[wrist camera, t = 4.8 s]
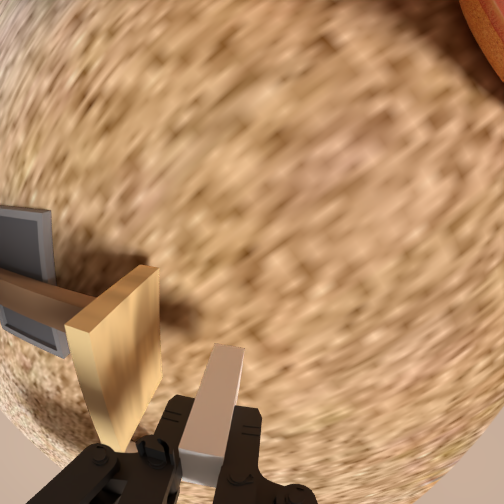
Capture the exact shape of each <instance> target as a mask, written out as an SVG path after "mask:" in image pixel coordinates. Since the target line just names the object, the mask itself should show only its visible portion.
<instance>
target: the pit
mask: <svg viewBox="0 0 504 504" xmlns="http://www.w3.org/2000/svg"><path fill="white" fill-rule="evenodd" d="M0 268H2V269H5V270H8V271H11V272H14V273H17V274H20V275H23V276H26V277H29V278H32V279H35V280H38V281H41V282H44V283H47V284H51V285H54V286H57V283H56V275H55V266H54V256H53V243H52V223H51V211H49V210H40V209H31V208H21V207H11V206H1V205H0ZM0 321H1V325H2V328H3V329H4V330H6V331H8V332H9V333H11V334H13V335H15V336H17V337H19V338H21V339H23V340H24V341H26V342H28V343H30V344H32V345H34V346H37V347H39V348H41V349H43V350H45V351H47V352H49V353H52V354H54V355H56V356H58V357H61V358H63V359H64V358H65V357H66V356H67V355H68V354H69V353H70V351H69V347H68V343H67V338H66V334H65V332H62V331H59V330H57V329H54V328H52V327H49V326H47V325H44V324H42V323H40V322H37V321H35V320H33V319H30V318H28V317H26V316H24V315H21V314H19V313H17V312H15V311H13V310H11V309H9V308H6V307H4V306H2V305H0Z"/></svg>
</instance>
